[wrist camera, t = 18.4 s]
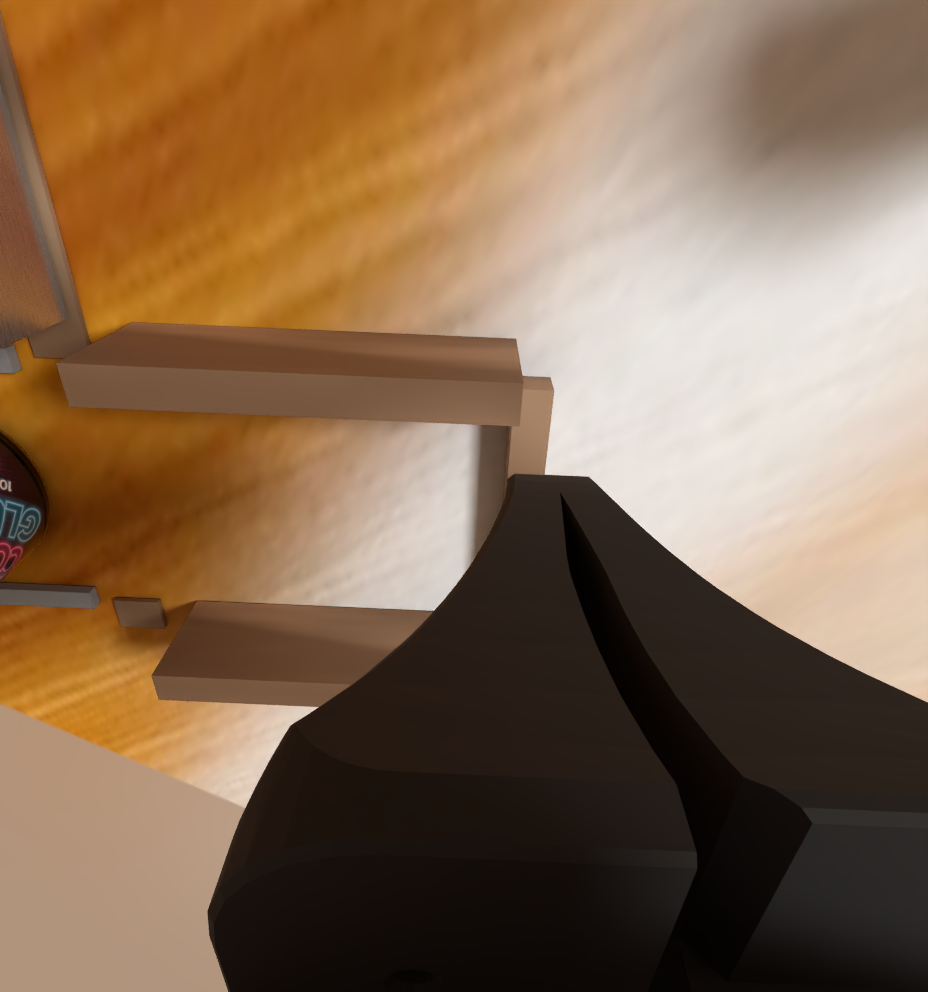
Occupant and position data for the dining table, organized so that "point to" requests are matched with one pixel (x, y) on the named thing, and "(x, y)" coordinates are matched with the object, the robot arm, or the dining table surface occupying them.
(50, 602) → the bay
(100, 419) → the dining table surface
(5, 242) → the latch bar
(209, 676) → the holder
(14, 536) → the supplement container
